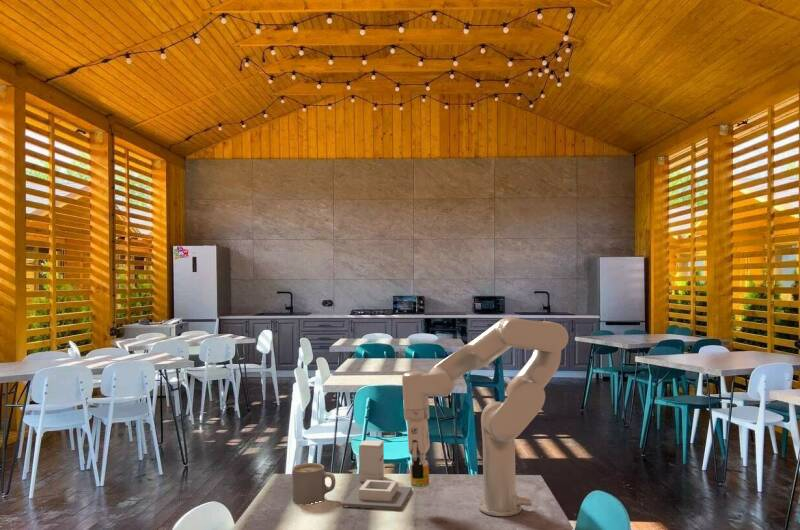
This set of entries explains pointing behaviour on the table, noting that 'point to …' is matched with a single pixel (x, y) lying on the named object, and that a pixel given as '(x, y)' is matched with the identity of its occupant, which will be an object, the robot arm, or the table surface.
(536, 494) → the table surface
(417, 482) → the supplement bottle
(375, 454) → the supplement box
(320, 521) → the table surface
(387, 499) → the collar board
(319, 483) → the coffee mug
